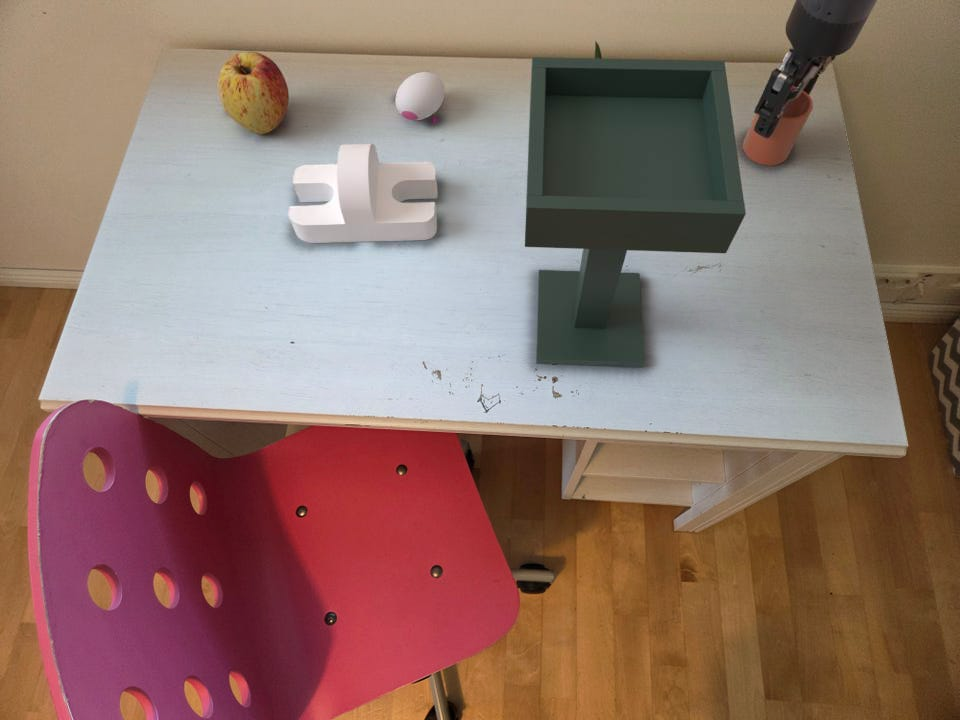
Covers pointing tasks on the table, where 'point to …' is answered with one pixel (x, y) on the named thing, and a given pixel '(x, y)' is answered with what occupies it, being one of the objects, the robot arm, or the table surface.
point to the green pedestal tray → (623, 189)
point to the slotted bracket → (364, 199)
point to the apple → (253, 91)
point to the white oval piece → (420, 96)
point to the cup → (779, 133)
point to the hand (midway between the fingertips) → (780, 114)
